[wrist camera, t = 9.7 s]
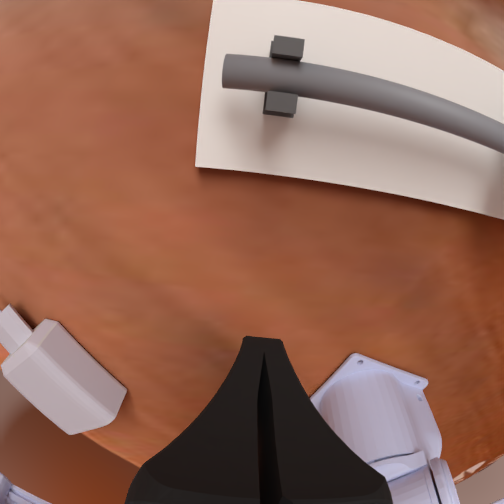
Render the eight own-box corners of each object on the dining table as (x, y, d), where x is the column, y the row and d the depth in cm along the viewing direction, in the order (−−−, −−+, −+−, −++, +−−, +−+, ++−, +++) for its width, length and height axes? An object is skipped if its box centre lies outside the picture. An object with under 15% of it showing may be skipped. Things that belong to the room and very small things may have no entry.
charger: (16, 262, 22) (129, 385, 26) (-15, 305, 24) (80, 405, 29) (-18, 290, 17) (114, 423, 22) (-41, 330, 20) (65, 436, 25)
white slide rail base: (574, 123, 14) (619, 136, 9) (552, 231, 18) (592, 260, 13) (216, -1, 14) (198, -41, 9) (198, 163, 18) (172, 186, 13)
